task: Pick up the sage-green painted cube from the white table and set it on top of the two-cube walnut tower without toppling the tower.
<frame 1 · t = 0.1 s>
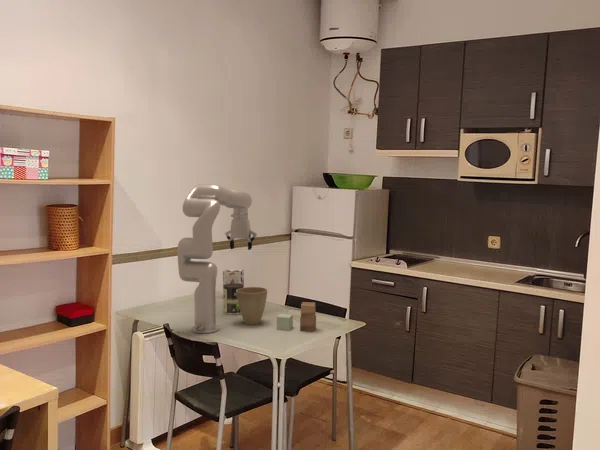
hand: (240, 249, 312), 31 cm above the table, fingers open, 9 cm apart
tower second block: (308, 316, 273), point 6 cm above the table, touching tower base block
coffee can: (233, 312, 304), on the table
sage block: (284, 328, 275), on the table
plant pot: (251, 322, 285), on the table
tower base block: (308, 329, 273), on the table, touching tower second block
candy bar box: (233, 298, 336), on the table
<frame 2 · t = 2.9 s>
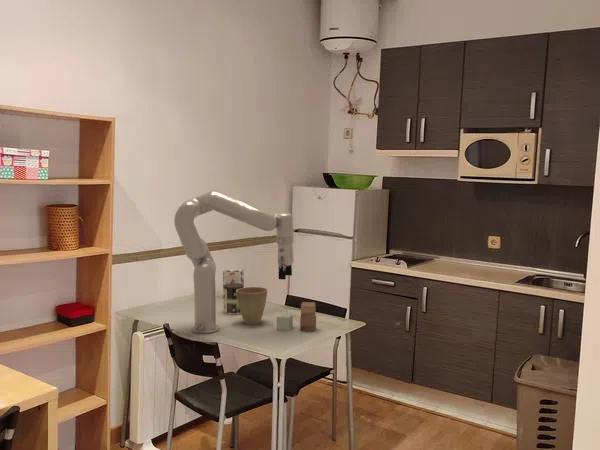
hand: (285, 277, 273), 24 cm above the table, fingers open, 9 cm apart
nothing on the table moved.
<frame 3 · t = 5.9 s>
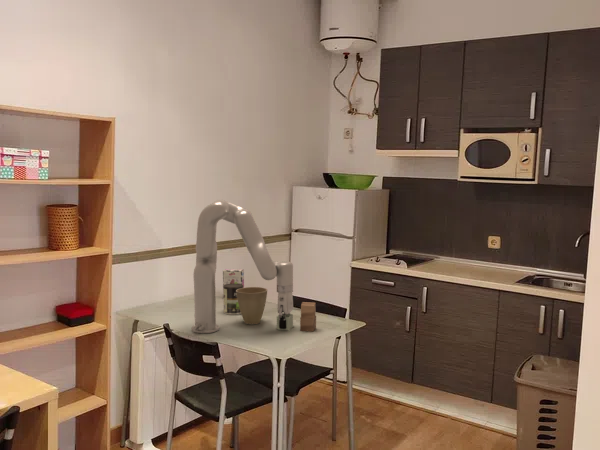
hand: (284, 326, 275), 1 cm above the table, fingers closed on sage block, 6 cm apart
sage block: (284, 328, 275), on the table, touching gripper
everything else where it was.
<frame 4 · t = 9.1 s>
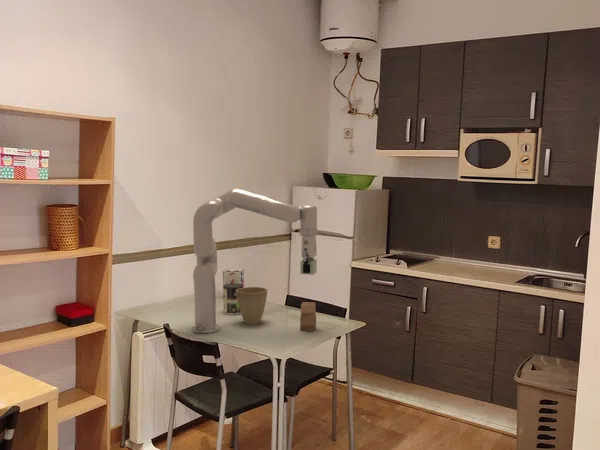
hand: (308, 271, 270), 27 cm above the table, fingers closed on sage block, 6 cm apart
sage block: (308, 273, 270), point 26 cm above the table, touching gripper
everything else where it was.
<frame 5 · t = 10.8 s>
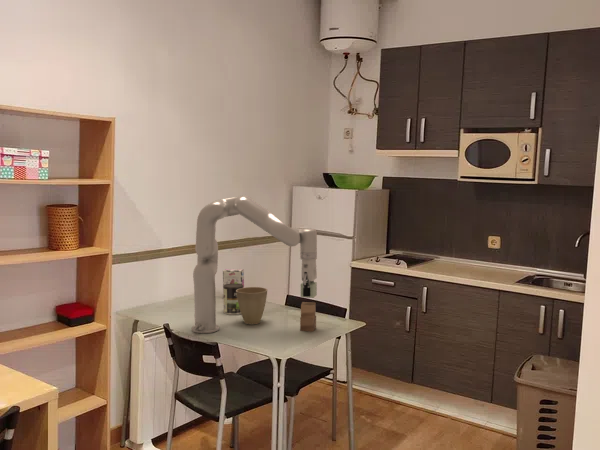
hand: (308, 294, 271), 16 cm above the table, fingers closed on sage block, 6 cm apart
sage block: (308, 296, 272), point 16 cm above the table, touching gripper
everything else where it was.
when the fingers open (14 cm above the table, at t = 12.3 s): sage block drops 1 cm, resting on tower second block.
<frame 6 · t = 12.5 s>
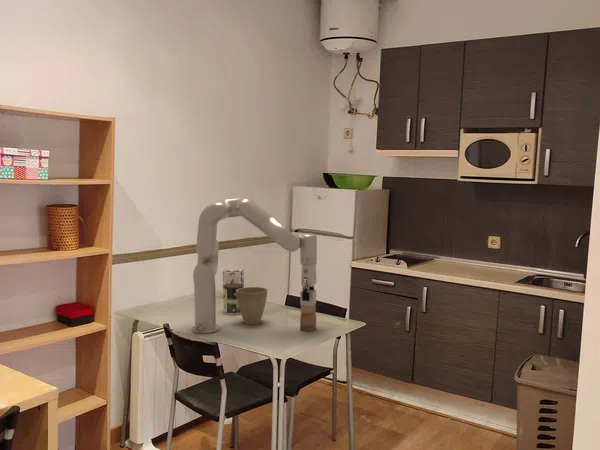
hand: (308, 298, 272), 15 cm above the table, fingers open, 8 cm apart
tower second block: (308, 316, 273), point 6 cm above the table, touching sage block, tower base block
sage block: (308, 303, 272), point 12 cm above the table, touching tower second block
everything else where it was.
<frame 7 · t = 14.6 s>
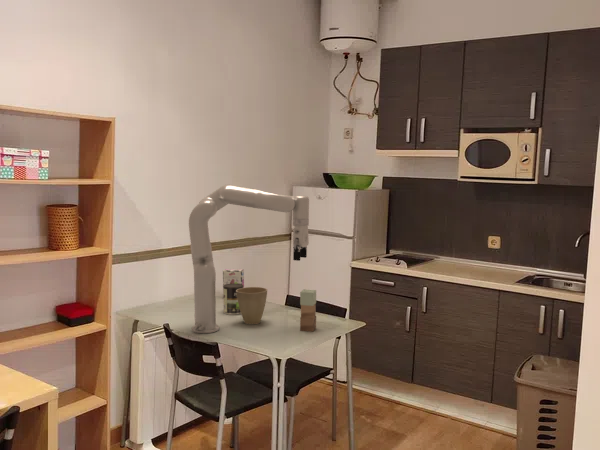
hand: (300, 258, 277), 32 cm above the table, fingers open, 9 cm apart
nothing on the table moved.
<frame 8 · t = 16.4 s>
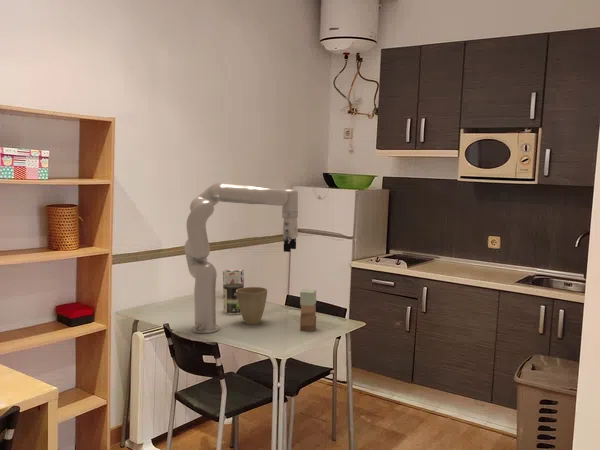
hand: (289, 250, 287), 34 cm above the table, fingers open, 9 cm apart
nothing on the table moved.
at the end: sage block 0.1 cm off-centre on the tower base block, point 12.0 cm above the tower base block's base; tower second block 0.0 cm off-centre on the tower base block, point 6.0 cm above the tower base block's base; sage block tilted 0° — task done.
